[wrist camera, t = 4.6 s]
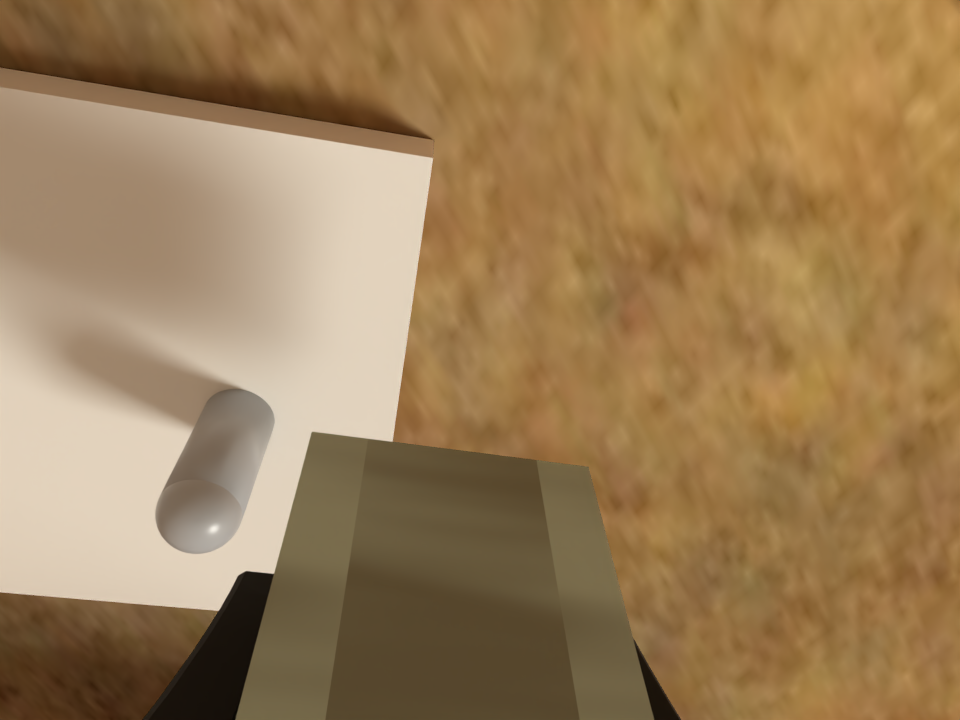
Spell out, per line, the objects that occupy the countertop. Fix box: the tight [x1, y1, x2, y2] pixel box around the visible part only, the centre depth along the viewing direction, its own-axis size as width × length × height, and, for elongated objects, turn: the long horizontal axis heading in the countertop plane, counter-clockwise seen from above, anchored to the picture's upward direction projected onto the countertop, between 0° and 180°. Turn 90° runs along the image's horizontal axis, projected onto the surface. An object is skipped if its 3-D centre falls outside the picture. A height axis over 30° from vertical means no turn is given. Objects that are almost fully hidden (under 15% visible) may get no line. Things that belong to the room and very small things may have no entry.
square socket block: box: [235, 432, 654, 720], centre depth 11 cm, size 5×5×6 cm
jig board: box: [0, 68, 434, 611], centre depth 17 cm, size 15×17×6 cm
